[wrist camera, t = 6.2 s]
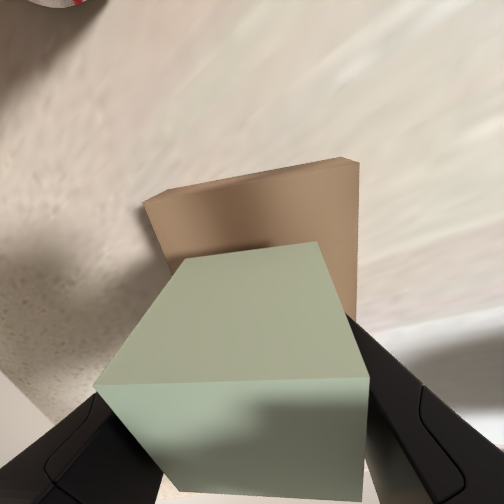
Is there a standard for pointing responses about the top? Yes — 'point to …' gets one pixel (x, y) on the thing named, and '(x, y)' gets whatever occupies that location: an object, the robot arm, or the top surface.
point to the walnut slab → (267, 217)
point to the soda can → (57, 3)
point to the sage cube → (247, 379)
